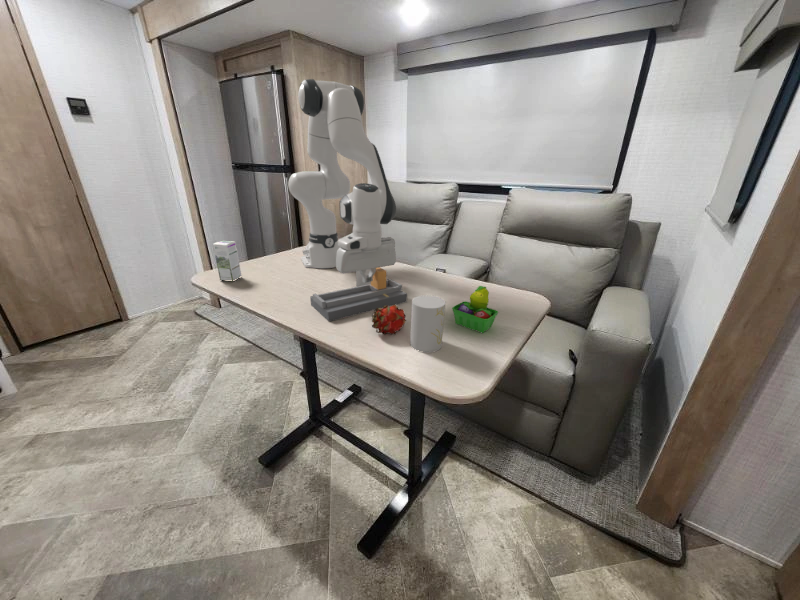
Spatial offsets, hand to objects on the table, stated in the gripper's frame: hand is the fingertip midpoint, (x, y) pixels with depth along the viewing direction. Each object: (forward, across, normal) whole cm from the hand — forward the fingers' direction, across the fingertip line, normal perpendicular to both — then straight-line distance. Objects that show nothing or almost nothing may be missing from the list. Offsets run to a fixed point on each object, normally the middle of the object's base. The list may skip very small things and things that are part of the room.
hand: (367, 281), depth 106 cm
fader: (+4, -4, 0) cm, 5 cm away
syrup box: (+7, +34, -46) cm, 58 cm away
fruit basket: (+7, -18, +31) cm, 37 cm away
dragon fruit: (+7, +5, +21) cm, 23 cm away
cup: (+7, +1, +32) cm, 33 cm away
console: (+7, +3, 0) cm, 8 cm away
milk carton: (+7, -8, -15) cm, 18 cm away
